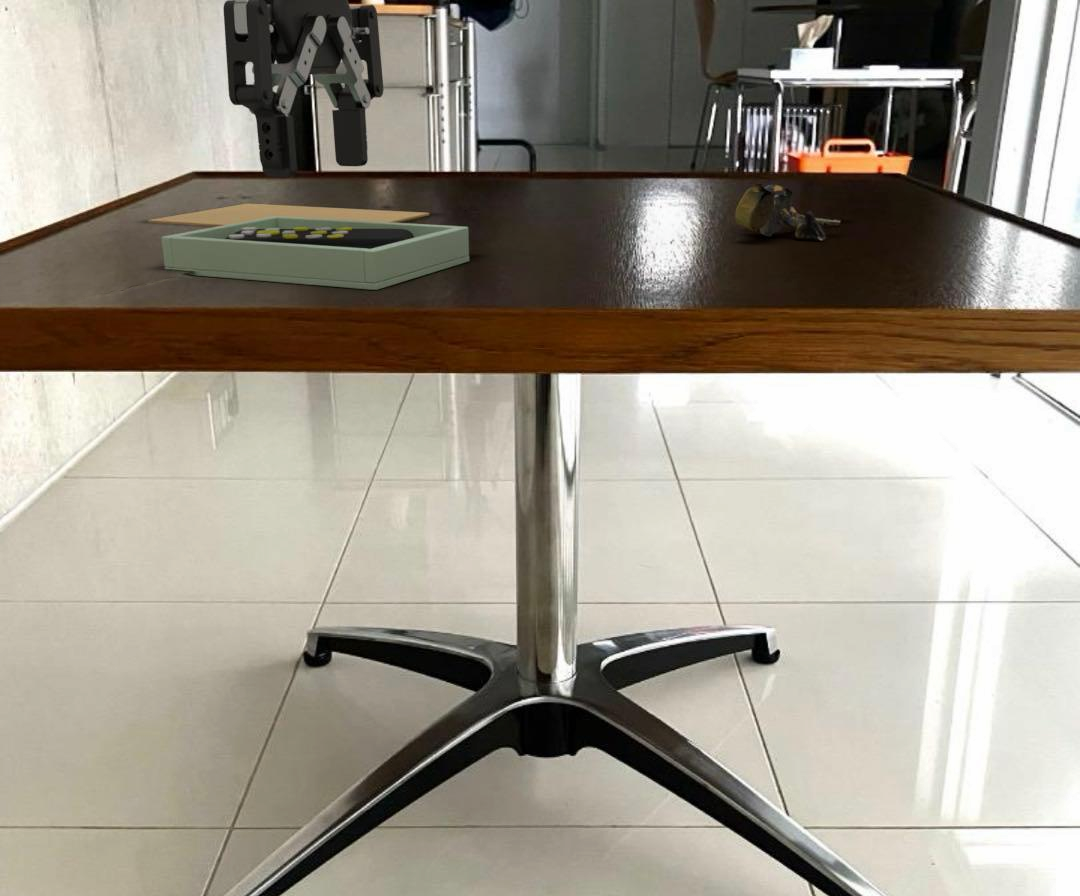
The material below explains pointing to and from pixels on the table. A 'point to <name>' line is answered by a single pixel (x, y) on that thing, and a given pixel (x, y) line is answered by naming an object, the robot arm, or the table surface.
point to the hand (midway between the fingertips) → (317, 171)
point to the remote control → (325, 236)
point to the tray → (317, 254)
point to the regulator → (776, 213)
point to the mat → (284, 214)
